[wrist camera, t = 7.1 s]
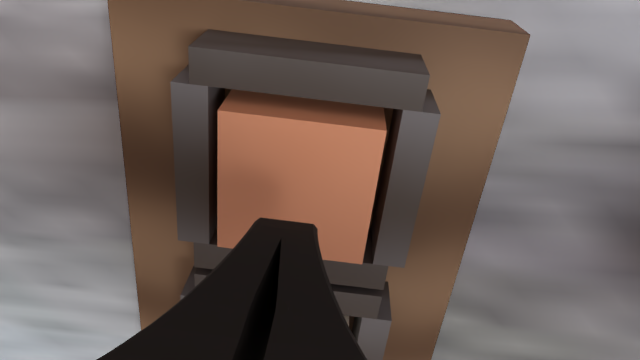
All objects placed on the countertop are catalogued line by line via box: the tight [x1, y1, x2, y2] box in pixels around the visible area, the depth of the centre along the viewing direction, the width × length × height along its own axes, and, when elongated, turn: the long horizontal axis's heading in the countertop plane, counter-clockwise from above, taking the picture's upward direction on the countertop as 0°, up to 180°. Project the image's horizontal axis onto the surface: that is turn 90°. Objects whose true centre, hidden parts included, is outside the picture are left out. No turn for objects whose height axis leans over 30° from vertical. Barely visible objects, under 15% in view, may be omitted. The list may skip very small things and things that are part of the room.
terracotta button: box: [217, 89, 387, 264], centre depth 15 cm, size 4×4×2 cm
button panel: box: [108, 0, 530, 360], centre depth 20 cm, size 24×12×4 cm, turn 174°
